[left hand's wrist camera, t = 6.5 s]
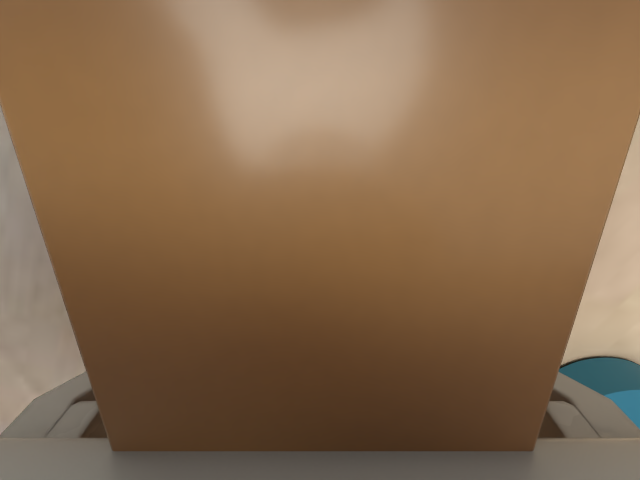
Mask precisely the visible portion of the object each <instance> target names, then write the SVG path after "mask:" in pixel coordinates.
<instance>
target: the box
mask: <svg viewBox="0 0 640 480" xmlns="http://www.w3.org/2000/svg"><path fill="white" fill-rule="evenodd" d="M0 105H1V108H2V111H3V114H4V117H5V121H6V124H7V127H8V130H9V133H10V136H11V139H12V142H13V145H14V148H15V152H16V155H17V158H18V161H19V164H20V167H21V170H22V173H23V176H24V179H25V183H26V186H27V189H28V192H29V195H30V198H31V201H32V204H33V207H34V211H35V214H36V217H37V220H38V223H39V226H40V229H41V232H42V235H43V238H44V242H45V245H46V248H47V251H48V254H49V257H50V260H51V263H52V266H53V269H54V273H55V276H56V279H57V282H58V285H59V288H60V291H61V294H62V297H63V301H64V304H65V307H66V310H67V313H68V316H69V319H70V322H71V325H72V328H73V332H74V335H75V338H76V341H77V344H78V347H79V350H80V353H81V356H82V359H83V363H84V366H85V369H86V372H87V375H88V378H89V381H90V384H91V387H92V390H93V394H94V397H95V400H96V403H97V406H98V409H99V412H100V415H101V418H102V422H103V425H104V428H105V431H106V434H107V437H108V440H109V443H110V446H111V449H112V451H533V450H534V448H535V445H536V441H537V438H538V435H539V432H540V429H541V426H542V422H543V419H544V416H545V413H546V410H547V407H548V403H549V400H550V397H551V394H552V391H553V388H554V384H555V381H556V378H557V375H558V372H559V368H560V365H561V362H562V359H563V356H564V353H565V349H566V346H567V343H568V340H569V337H570V334H571V330H572V327H573V324H574V321H575V318H576V315H577V311H578V308H579V305H580V302H581V299H582V296H583V292H584V289H585V286H586V283H587V280H588V277H589V273H590V270H591V267H592V264H593V261H594V258H595V254H596V251H597V248H598V245H599V242H600V239H601V235H602V232H603V229H604V226H605V223H606V220H607V216H608V213H609V210H610V207H611V204H612V201H613V197H614V194H615V191H616V188H617V185H618V182H619V178H620V175H621V172H622V169H623V166H624V163H625V159H626V156H627V153H628V150H629V147H630V143H631V140H632V137H633V134H634V131H635V128H636V124H637V121H638V118H639V115H640V0H0Z"/></svg>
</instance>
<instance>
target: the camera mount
mask: <svg viewBox="0 0 640 480" xmlns="http://www.w3.org/2000/svg"><path fill="white" fill-rule="evenodd" d="M559 372H560V373H562V374H564V375H566V376H567V377H569V378H571V379H573V380H575V381H577V382H579V383H581V384H583V385H584V386H586V387H588V388H590V389H592V390H594V391H596V392H598V393H599V394H601V395H603V396H605V397H607V398H609V399H611V400H612V401H613V402H614V403H615V404H616V405H617V406H618V407H619V408H620V409H621V410H622V411H623V412H624V413H625V414H626V415H627V416H628V418H629V419H630V420H631V421H632V422H633V423H634V424H635V425H636V426H637V427H638V428H639V429H640V365H638V364H636V363H633V362H631V361H628V360H624V359H618V358H593V359H587V360H582V361H578V362H575V363H572V364H569V365H567V366H565V367H563V368H560V369H559Z"/></svg>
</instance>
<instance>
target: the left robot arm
mask: <svg viewBox="0 0 640 480" xmlns="http://www.w3.org/2000/svg"><path fill="white" fill-rule="evenodd" d="M0 480H640V429H639V428H638V427H637V426H636V425H635V424H634V423H633V422H632V421H631V420H630V419H629V418H628V416H627V415H626V414H625V413H624V412H623V411H622V410H621V409H620V408H619V407H618V406H617V405H616V404H615V403H614V402H613V401H612V400H611V399H609V398H607V397H605V396H603V395H601V394H599V393H598V392H596V391H594V390H592V389H590V388H588V387H586V386H584V385H583V384H581V383H579V382H577V381H575V380H573V379H571V378H569V377H567V376H566V375H564V374H562V373H560V372H558V375H557V378H556V381H555V384H554V388H553V391H552V394H551V397H550V400H549V403H548V407H547V410H546V413H545V416H544V419H543V422H542V426H541V429H540V432H539V435H538V438H537V441H536V445H535V448H534V450H533V451H112V449H111V446H110V443H109V440H108V437H107V434H106V431H105V428H104V425H103V422H102V418H101V415H100V412H99V409H98V406H97V403H96V400H95V397H94V394H93V390H92V387H91V384H90V381H89V378H88V375H87V372H84V373H82V374H81V375H79V376H77V377H75V378H73V379H71V380H69V381H67V382H66V383H64V384H62V385H60V386H58V387H56V388H54V389H53V390H51V391H49V392H47V393H45V394H43V395H41V396H39V397H38V398H36V399H34V400H33V401H32V402H31V403H30V404H29V405H28V406H27V407H26V408H25V409H24V410H23V412H22V413H21V414H20V415H19V416H18V417H17V418H16V419H15V420H14V421H13V422H12V423H11V424H10V425H9V426H8V427H7V428H6V429H5V431H4V432H3V433H2V434H1V435H0Z"/></svg>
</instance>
